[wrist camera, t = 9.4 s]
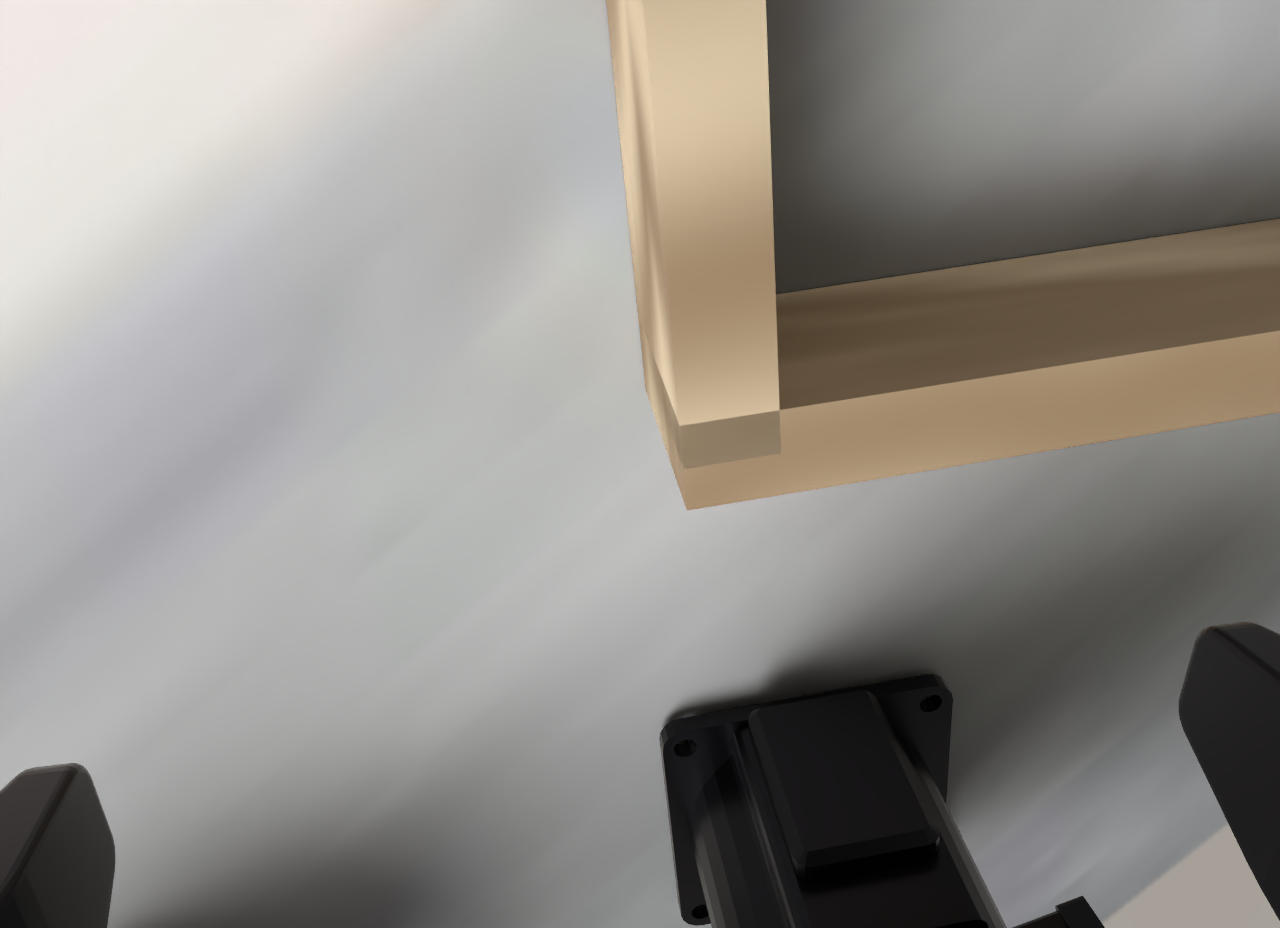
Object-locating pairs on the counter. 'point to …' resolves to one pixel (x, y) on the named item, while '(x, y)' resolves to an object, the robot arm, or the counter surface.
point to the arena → (893, 305)
